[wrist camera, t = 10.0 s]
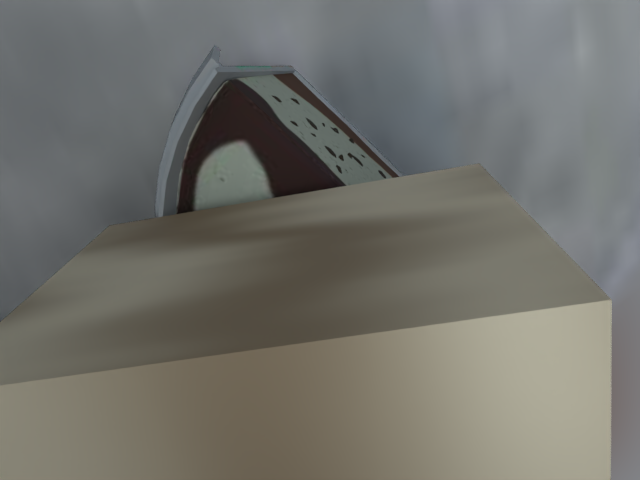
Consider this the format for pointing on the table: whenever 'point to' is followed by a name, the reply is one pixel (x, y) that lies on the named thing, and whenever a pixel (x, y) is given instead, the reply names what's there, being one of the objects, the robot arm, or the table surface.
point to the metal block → (315, 345)
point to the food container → (258, 141)
